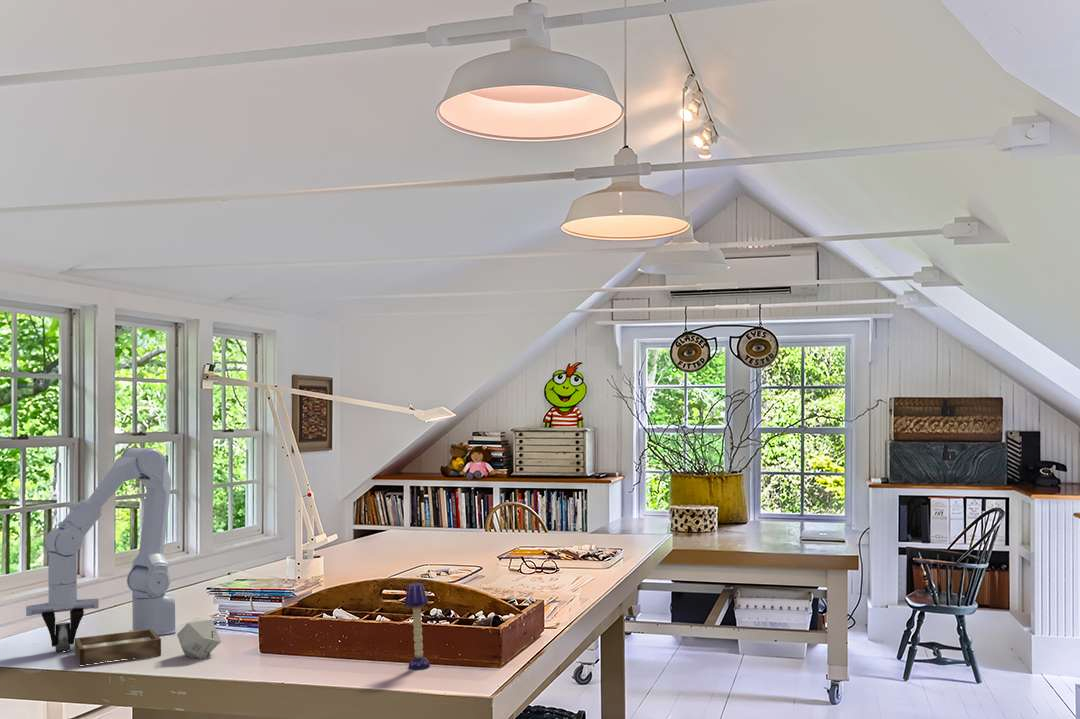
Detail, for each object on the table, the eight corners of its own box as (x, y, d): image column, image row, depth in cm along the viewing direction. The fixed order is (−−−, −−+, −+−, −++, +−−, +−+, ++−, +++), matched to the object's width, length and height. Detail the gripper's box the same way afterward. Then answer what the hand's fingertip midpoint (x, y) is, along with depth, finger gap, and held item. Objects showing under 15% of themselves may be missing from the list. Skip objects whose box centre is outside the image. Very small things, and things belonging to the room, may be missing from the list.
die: (179, 666, 212) (207, 628, 213) (162, 640, 217) (189, 604, 218) (208, 671, 219) (235, 635, 219) (191, 646, 224) (217, 611, 224)
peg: (69, 648, 227) (69, 621, 227) (70, 651, 224) (70, 624, 225) (54, 650, 226) (54, 623, 226) (55, 653, 223) (55, 626, 223)
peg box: (152, 644, 230) (152, 628, 230) (161, 655, 219) (160, 639, 219) (74, 654, 222) (74, 638, 222) (80, 666, 211) (79, 649, 211)
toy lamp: (419, 671, 202) (417, 586, 203) (400, 668, 204) (399, 584, 205) (434, 665, 206) (432, 582, 207) (416, 662, 209) (414, 581, 209)
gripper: (96, 576, 233) (96, 636, 232) (25, 583, 226) (25, 645, 225) (99, 581, 227) (99, 642, 226) (26, 588, 219) (26, 652, 219)
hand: (62, 644), depth 225 cm, fingers closed on peg, 3 cm apart
